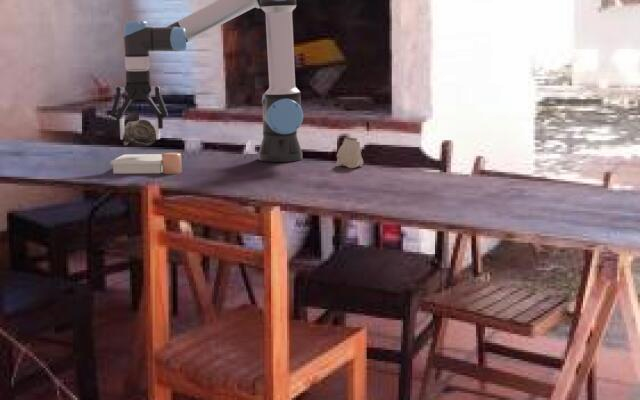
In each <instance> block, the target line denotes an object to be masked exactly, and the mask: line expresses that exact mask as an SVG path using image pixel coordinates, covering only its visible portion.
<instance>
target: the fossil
mask: <svg viewBox="0 0 640 400" xmlns="http://www.w3.org/2000/svg"><path fill="white" fill-rule="evenodd" d="M156 141H157V139H156V126H154V125H153V124H152V123H151V121H149V120H147V119H137V120H134V121H128V122H127V123H126V124H125V125H124V139H123V143H122V144H123V145H124V146H127V145H128V144H130V143H131V144H133V145H134V146H139V147H148V146H149V147H150V146H151V145H153V144H154V143H155V142H156Z"/></svg>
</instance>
